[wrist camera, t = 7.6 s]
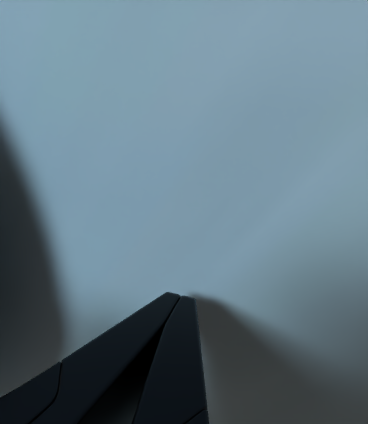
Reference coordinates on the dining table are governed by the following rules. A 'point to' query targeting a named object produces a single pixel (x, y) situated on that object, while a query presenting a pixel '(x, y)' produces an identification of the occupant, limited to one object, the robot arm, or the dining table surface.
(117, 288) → the dining table surface
